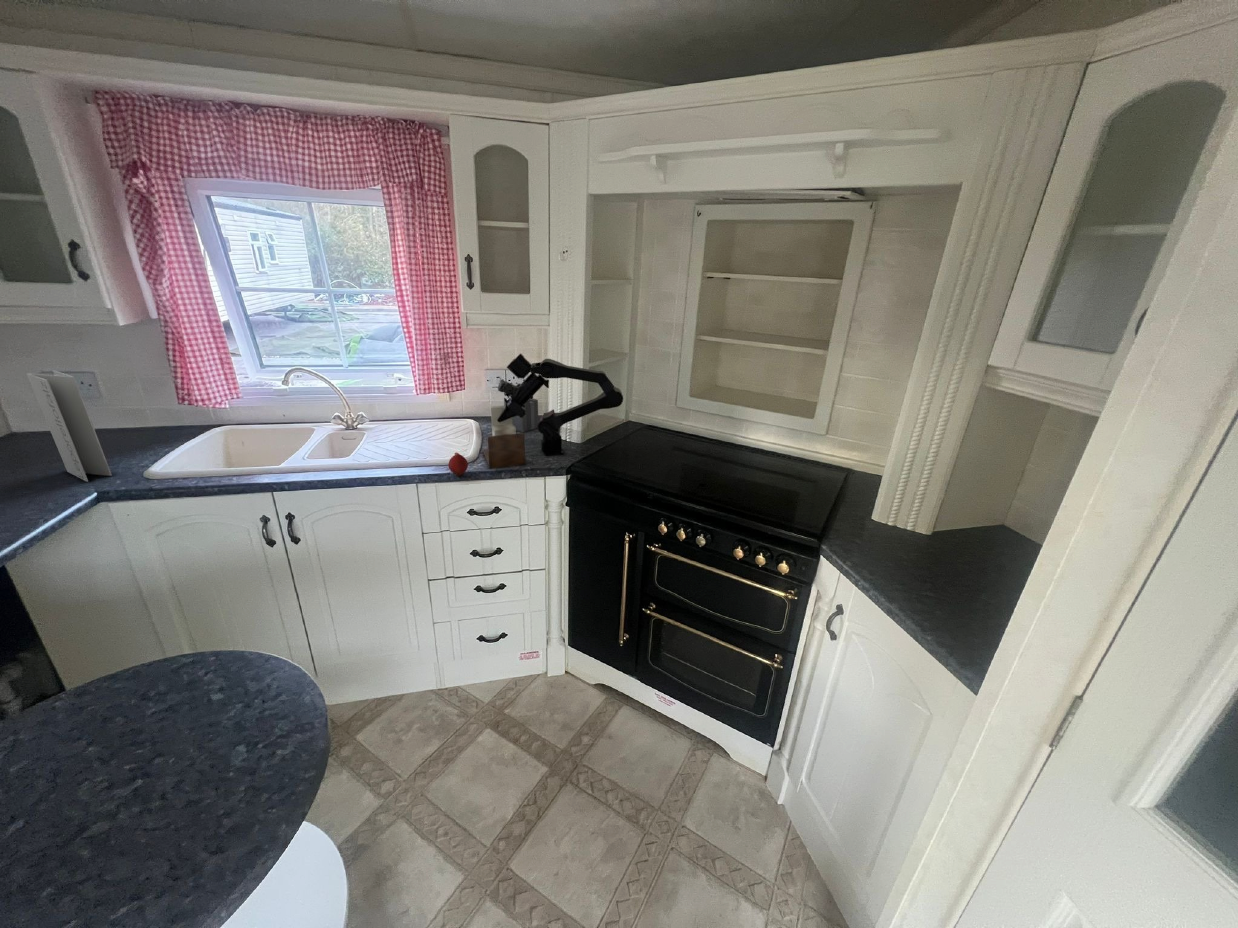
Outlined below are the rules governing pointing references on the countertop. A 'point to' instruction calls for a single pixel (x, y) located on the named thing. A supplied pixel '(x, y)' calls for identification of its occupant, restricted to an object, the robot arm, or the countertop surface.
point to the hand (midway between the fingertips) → (497, 420)
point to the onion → (458, 464)
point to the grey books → (527, 417)
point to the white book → (496, 413)
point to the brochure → (69, 424)
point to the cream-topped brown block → (505, 447)
